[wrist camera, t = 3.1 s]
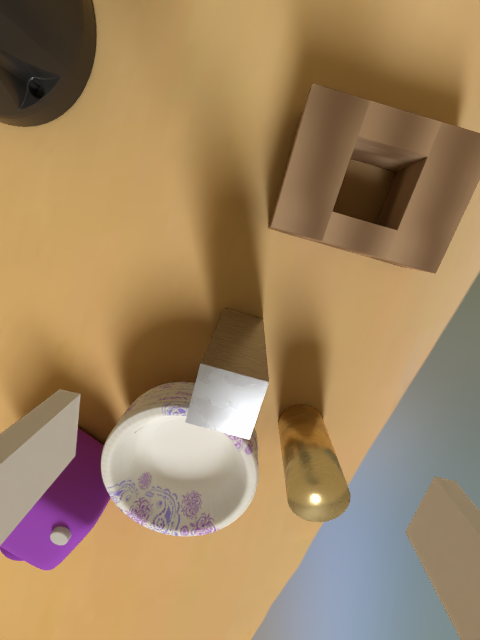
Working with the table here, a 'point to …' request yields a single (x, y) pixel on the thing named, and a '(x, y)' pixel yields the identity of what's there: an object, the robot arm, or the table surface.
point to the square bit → (231, 377)
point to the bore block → (386, 152)
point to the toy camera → (62, 510)
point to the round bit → (311, 466)
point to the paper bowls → (177, 466)
